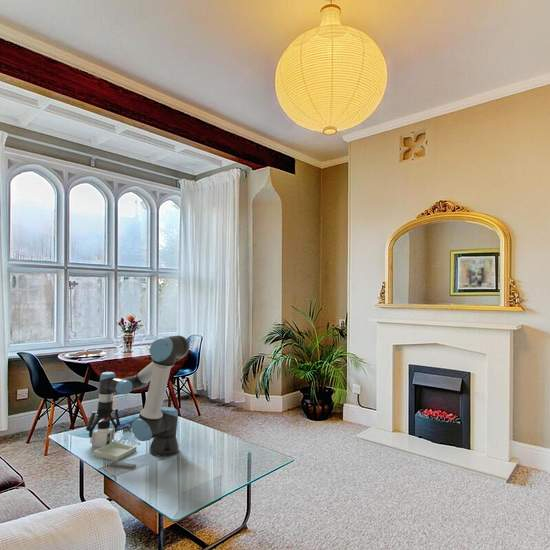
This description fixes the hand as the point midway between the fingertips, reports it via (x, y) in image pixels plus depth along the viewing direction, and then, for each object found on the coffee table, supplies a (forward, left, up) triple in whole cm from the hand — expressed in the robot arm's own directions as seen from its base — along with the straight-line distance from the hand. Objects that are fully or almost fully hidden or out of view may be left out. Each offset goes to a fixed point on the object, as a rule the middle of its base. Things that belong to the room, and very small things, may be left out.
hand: (102, 440), depth 226 cm
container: (0, 0, -2) cm, 2 cm away
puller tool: (-28, +17, -2) cm, 33 cm away
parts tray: (-14, +6, -2) cm, 15 cm away
